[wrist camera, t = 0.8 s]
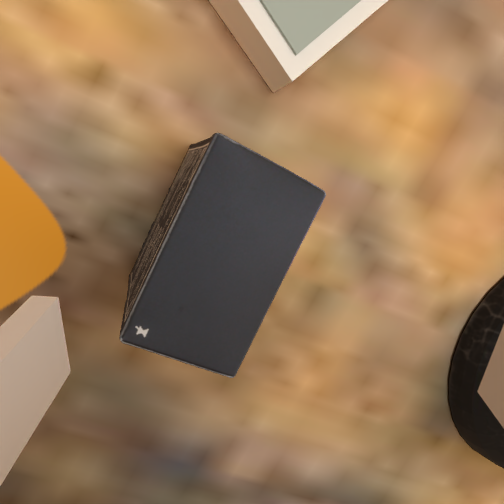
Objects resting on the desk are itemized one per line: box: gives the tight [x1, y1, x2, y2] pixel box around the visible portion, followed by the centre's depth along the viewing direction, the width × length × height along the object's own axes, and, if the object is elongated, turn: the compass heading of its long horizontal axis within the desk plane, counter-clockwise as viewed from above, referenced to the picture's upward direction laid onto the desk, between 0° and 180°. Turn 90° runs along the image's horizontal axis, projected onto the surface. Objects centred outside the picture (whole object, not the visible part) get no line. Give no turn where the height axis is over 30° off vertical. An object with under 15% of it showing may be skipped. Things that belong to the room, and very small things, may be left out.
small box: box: [120, 133, 326, 378], centre depth 23 cm, size 11×6×10 cm, turn 153°
